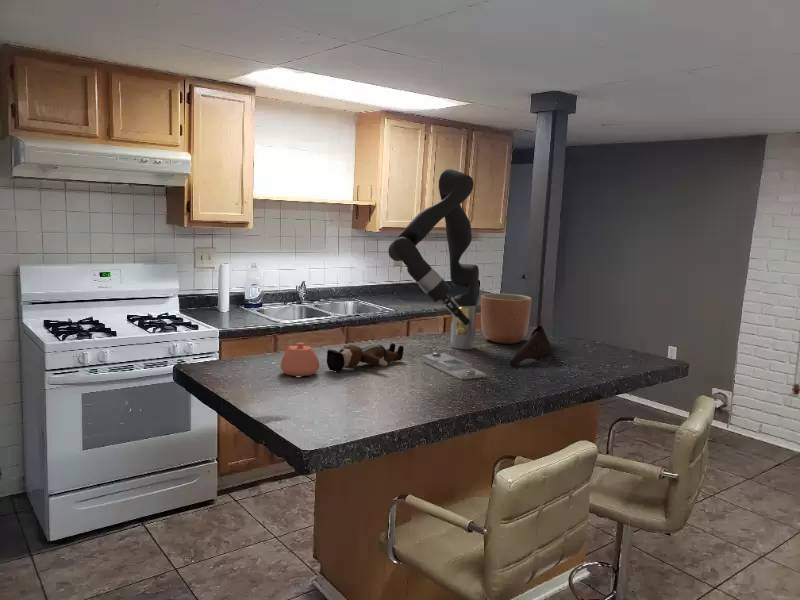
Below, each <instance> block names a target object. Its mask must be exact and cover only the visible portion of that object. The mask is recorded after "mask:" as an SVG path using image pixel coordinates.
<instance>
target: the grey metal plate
mask: <svg viewBox="0 0 800 600" xmlns="http://www.w3.org/2000/svg"><path fill="white" fill-rule="evenodd" d="M421 363H423V364H426V365H427V366H431V367H432V368H435V369H437V370H439V371H441V372H444V373H446V374H448V375H450V376H452V377H454V378H456V377H457V379H459V380H461V381H463V379H464V380H471V379H472V378H473V379H480V378H481V377H483V378H486V377H487V373H485V372H484V371H480V370H478V369H476V368H474V367H473V364H472V363H470V362H468V361H465V360H463V359H460V358H459V357H455V356H453V355H450V354H448V353H446V352H443V353H441V352H438V351H433V352H432V353H429V354H422V355H421Z"/></svg>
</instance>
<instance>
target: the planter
mask: <svg viewBox="0 0 800 600" xmlns="http://www.w3.org/2000/svg"><path fill="white" fill-rule="evenodd" d="M480 298H481V299H480V321H481V323H480V324H481V331H482V333H483V336H484V337H485V338H486V339H487V340H489V341H490V342H492V343H497V344H507V345H509V344H510V345H511V344H517V343H519V342H521V341H522V340H523V339H524V338H525V337H526V335H527V334H528V329H529V323H530V315H531V309H532V308H531V306H532V297H531V296H527V295H523V294H516V293H515V294H513V293H495V292H494V293H484V294H482V295H481V297H480Z"/></svg>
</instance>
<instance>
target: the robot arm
mask: <svg viewBox="0 0 800 600" xmlns="http://www.w3.org/2000/svg"><path fill="white" fill-rule="evenodd" d="M474 183H475V182H474V179H473V177H472V176H470V175H468V174H466V173H463V172H462V171H459V170H454V169H452V168H451V169H450V168H447V169H445V170H443V171H442V173H441V174H440V176H439V179H438V190H439V192H438V193H439V196H440V201H438V202H437V203H435V204H432V205H430V206H428V207H426V208H424V209H422V210H421V211H420V212H418V214H417V215H415V217H414V218H412V220H411V221H410V222H409V223H408V224H407V226H406V227H405V229H404V230H403V231H402V232H401V233H400V234H399V235H398V236H397V237H396V238H395V239H394V240H393V241H392V242H391V243H390V245H389V246H388V250H387V251H388V255H389V258H390V259H391V260H393V261H395V262H401V261H402V263H404V265H405V266H406V267H407V269H406V270H407V273H408V274H409V276H410V277H411V278H412V279H413V280H414V281H415V283H417V285H418V286H419V287H420V289H421V290H422V291H423V292H424V293H425V295H427V297H428V298H430V300H431V301H432V302H433V303H437V302H439V301H440V300H441V301H442V306H444V307H445V309H447V310H448V311H449V312H450V314H452V317H451V322H450V336H449V337H450V341H449V343H450V344H449V345H450V347H451V348H454V349H456V350H457V349H458V350H473V349H475V339H476V320H477V318H476V317H477V300H478V298H477V297H478V288H479V287H478V286H479V280H480V279H479V278H480V277H479V276H480V270H479V267H478V265H477V264H473V263H471V264H470V263H460V259H461V257H462V256H463V254H464V253H465V252H466V250H467V249H468V247H469V246H470V245H471V243H472V238H473V236H472V226H471V222H470V219H469V217H468V215H467V214H466V212H465V210H464V208H462V206H461V204H462V203H464V201H466V200H467V199H468V197H469V196H470V195H471V193H472V192H473V189H474ZM442 219H444V222H445V232H446V241H447V247H448V252H449V253H448V255H449V274H450V277H449V278H450V283H451V285H452V286H453V287H456V288H466V289H467V288H468V290H467V291H466V292H465V293H463V294H459V295H455V296H454V297H453V296H452V295H448V293H449V292H450V291H451V286H450V285H449V284H448V283H447V282H446V281H445V280H444V279H443V277H442V276H441V275H440V274H439V273H438V272H437V271H436V270H435V269H434V268H432V266H431V265H430V264H429V263H427V261H426V260H425V259H424V257H423V256H422V253H420V251H419V249H418V247H417V245H418V244H419V243H420V242H422V241H423V240H424V239H425V238H426V236H427V235H428V234H430V232H431V231H432V230H433V229H434V227H435V226H436V225H437V224H439V222H440V221H442ZM459 307H467V308H469V309H468V318H467V317H466V316H465V315H464V314H463V312H462V311H461V310H460V309H459ZM457 310H459V311H458V312H457V313H456V311H457ZM456 317H457V318H459V319H460V320H461V321H462V322H463V324H464V325H467V324H468V325H467V335H457V334H455V328H456Z"/></svg>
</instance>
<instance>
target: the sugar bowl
mask: <svg viewBox="0 0 800 600" xmlns="http://www.w3.org/2000/svg"><path fill="white" fill-rule="evenodd" d="M280 369H281V371H282V372H283V373H284V374H285V373H286V375H288V376H295V377H296V376H302V377H303V376H305V377H306V376H313V375H314V374H316V372H317V371H318V370H319V369H320V361H319V357H318V355H317V354H316V352H315V350H314V349H313V347H311V346H309V345H305V342H296V345H287V346H286V347H285V348H284V354H283V356H282V358H281V361H280ZM312 374H313V375H312Z"/></svg>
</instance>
